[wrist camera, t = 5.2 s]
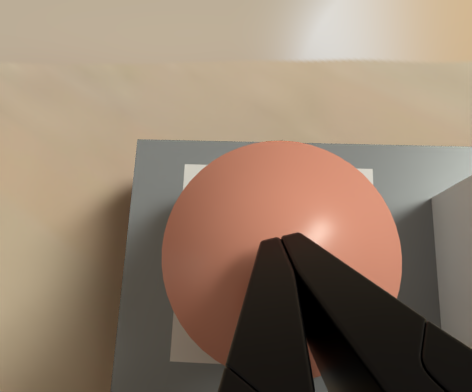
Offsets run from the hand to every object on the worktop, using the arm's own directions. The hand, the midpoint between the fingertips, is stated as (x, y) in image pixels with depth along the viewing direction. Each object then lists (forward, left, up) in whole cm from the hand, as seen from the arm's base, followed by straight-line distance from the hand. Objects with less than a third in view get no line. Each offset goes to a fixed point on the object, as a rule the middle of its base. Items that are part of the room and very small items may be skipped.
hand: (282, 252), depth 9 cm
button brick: (0, 0, -5) cm, 5 cm away
